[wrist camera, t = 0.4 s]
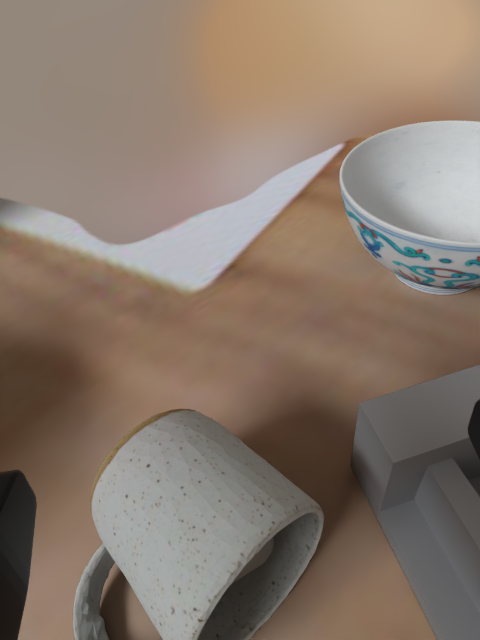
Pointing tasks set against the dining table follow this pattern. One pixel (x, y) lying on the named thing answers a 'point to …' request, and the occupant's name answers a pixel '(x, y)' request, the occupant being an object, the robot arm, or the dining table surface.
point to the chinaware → (419, 203)
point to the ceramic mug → (195, 531)
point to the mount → (428, 493)
